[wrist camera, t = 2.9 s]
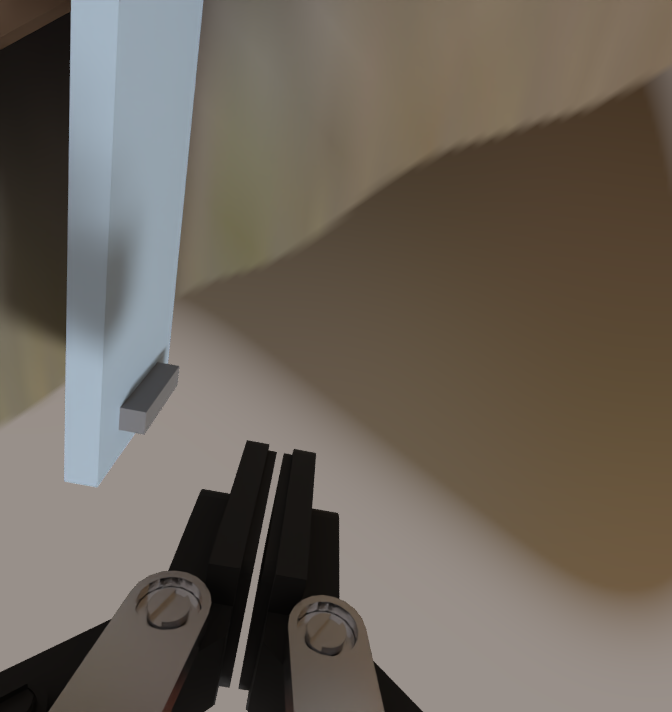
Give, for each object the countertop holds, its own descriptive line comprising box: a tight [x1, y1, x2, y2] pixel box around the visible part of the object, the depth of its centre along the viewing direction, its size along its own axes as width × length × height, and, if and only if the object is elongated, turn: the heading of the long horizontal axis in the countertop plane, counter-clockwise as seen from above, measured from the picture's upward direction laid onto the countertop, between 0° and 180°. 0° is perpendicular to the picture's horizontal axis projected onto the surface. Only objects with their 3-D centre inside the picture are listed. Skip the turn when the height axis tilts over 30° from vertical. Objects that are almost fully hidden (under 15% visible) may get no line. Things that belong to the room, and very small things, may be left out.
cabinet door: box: [64, 0, 203, 487], centre depth 19 cm, size 18×2×8 cm, turn 168°
